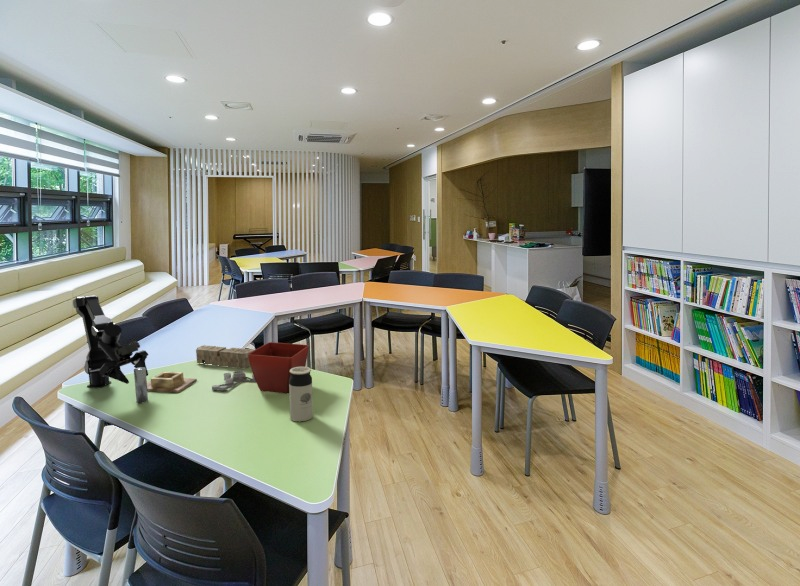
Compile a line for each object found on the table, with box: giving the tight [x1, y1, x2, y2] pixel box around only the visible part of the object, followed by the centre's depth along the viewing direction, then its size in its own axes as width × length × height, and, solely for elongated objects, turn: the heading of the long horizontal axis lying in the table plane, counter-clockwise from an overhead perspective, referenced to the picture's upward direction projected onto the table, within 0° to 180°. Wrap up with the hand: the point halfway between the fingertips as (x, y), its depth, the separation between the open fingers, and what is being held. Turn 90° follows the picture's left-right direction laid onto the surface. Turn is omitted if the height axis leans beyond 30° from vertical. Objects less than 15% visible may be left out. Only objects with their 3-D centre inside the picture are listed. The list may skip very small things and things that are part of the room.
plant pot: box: [248, 341, 310, 395], centre depth 197 cm, size 19×19×17 cm
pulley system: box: [211, 370, 256, 391], centre depth 205 cm, size 27×5×15 cm
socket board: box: [147, 371, 198, 393], centre depth 199 cm, size 18×14×4 cm
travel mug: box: [289, 366, 314, 423], centre depth 168 cm, size 8×8×18 cm
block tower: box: [195, 344, 256, 369], centre depth 229 cm, size 8×8×29 cm
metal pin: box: [133, 367, 149, 404], centre depth 182 cm, size 4×4×13 cm
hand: (138, 379), depth 181 cm, fingers open, 9 cm apart
